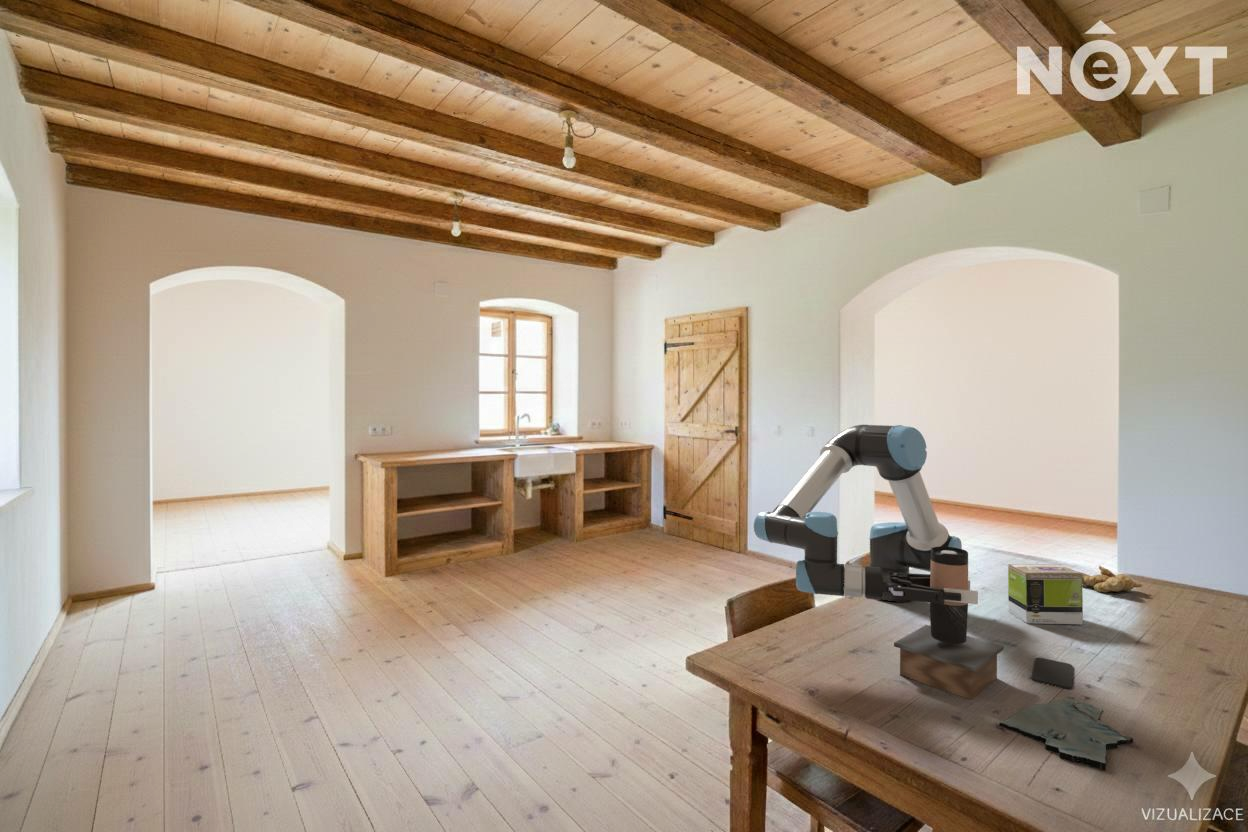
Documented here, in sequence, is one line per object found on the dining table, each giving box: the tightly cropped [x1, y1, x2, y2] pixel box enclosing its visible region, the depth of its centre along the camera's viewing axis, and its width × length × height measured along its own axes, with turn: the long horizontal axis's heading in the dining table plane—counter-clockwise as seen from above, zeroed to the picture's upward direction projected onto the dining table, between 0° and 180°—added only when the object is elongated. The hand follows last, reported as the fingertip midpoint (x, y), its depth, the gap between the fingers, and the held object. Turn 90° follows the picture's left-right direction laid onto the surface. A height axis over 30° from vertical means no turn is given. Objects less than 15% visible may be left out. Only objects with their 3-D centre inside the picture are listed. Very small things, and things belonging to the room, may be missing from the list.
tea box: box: [1007, 563, 1084, 626], centre depth 173 cm, size 15×10×15 cm
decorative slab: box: [998, 696, 1134, 772], centre depth 115 cm, size 26×24×2 cm
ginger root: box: [1078, 565, 1144, 594], centre depth 198 cm, size 16×16×8 cm
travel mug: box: [929, 547, 969, 644], centre depth 137 cm, size 8×8×20 cm
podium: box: [893, 624, 1005, 700], centre depth 137 cm, size 17×17×7 cm
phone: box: [1031, 657, 1074, 690], centre depth 139 cm, size 7×1×15 cm
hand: (973, 591), depth 135 cm, fingers closed on travel mug, 7 cm apart
